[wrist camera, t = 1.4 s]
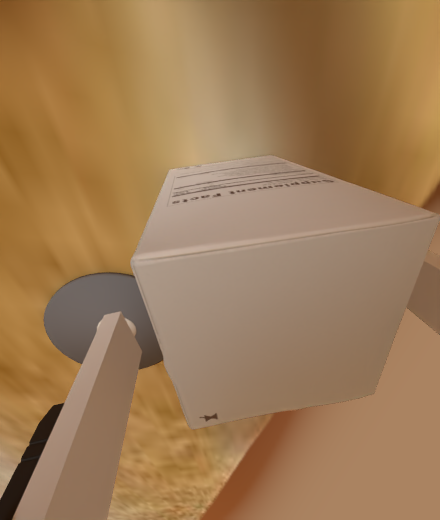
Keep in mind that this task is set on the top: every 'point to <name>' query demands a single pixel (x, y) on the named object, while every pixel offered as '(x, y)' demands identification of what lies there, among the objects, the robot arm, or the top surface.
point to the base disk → (99, 315)
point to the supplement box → (275, 285)
